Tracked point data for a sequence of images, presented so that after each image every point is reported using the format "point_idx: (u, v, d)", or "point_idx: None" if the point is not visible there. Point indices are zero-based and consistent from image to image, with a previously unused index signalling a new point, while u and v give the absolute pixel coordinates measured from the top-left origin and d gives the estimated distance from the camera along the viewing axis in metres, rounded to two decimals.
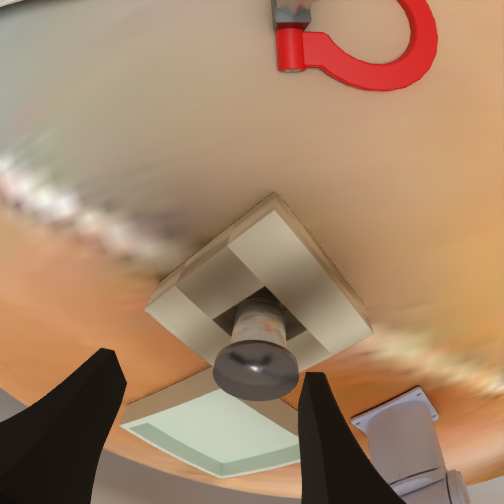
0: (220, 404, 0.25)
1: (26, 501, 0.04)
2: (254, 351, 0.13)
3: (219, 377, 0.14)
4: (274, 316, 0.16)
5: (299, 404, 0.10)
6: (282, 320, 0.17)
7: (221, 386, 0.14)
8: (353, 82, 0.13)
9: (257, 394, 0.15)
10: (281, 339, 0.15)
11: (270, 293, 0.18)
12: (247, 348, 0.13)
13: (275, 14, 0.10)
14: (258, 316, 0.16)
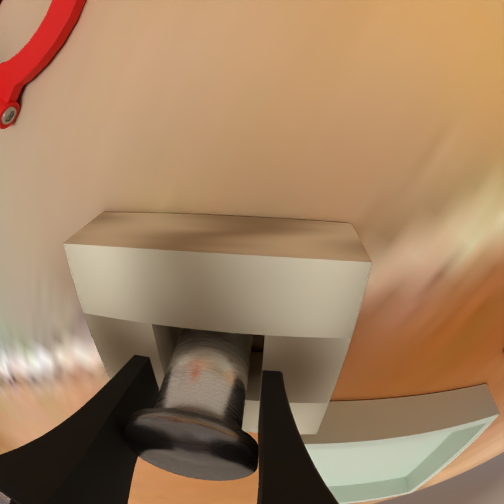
0: None
1: None
2: (134, 431, 0.07)
3: (165, 467, 0.08)
4: (190, 353, 0.10)
5: None
6: (210, 349, 0.10)
7: (184, 475, 0.08)
8: (38, 58, 0.08)
9: (228, 472, 0.08)
10: (196, 385, 0.09)
11: None
12: (125, 430, 0.07)
13: None
14: (170, 367, 0.10)
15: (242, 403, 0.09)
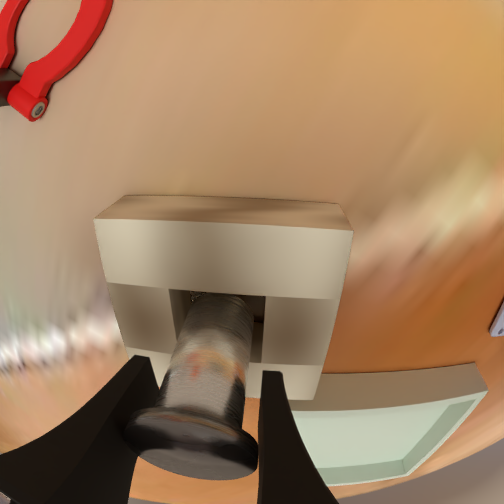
0: (323, 418, 0.19)
1: None
2: (134, 430, 0.07)
3: (165, 467, 0.08)
4: (190, 352, 0.10)
5: None
6: (210, 349, 0.10)
7: (184, 474, 0.08)
8: (68, 60, 0.10)
9: (228, 472, 0.08)
10: (196, 385, 0.09)
11: (195, 317, 0.12)
12: (125, 430, 0.07)
13: None
14: (170, 366, 0.10)
15: (242, 403, 0.09)
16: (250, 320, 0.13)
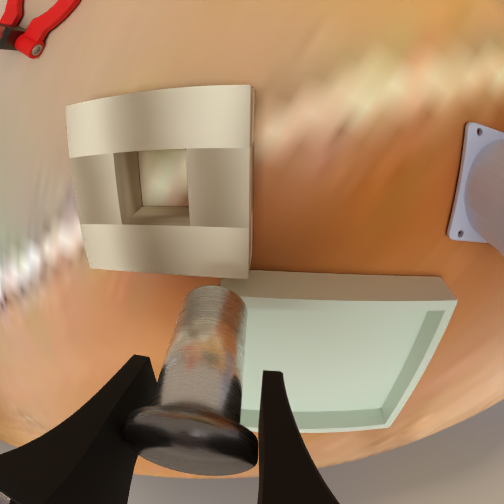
0: (276, 329, 0.21)
1: None
2: (132, 430, 0.07)
3: (166, 465, 0.08)
4: (184, 348, 0.10)
5: None
6: (204, 344, 0.10)
7: (186, 471, 0.09)
8: (61, 12, 0.11)
9: (229, 467, 0.08)
10: (191, 381, 0.09)
11: (188, 312, 0.12)
12: (123, 430, 0.07)
13: None
14: (165, 363, 0.10)
15: (239, 396, 0.09)
16: (244, 312, 0.13)
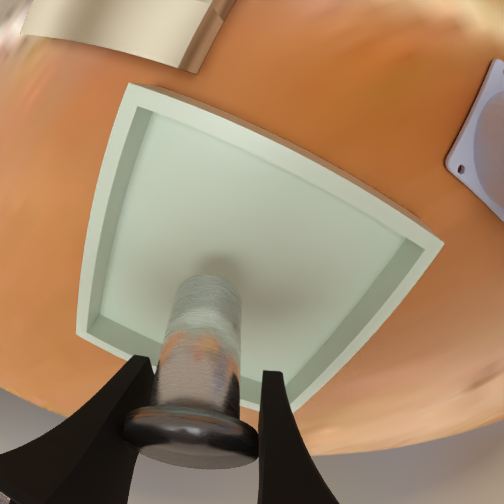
0: (183, 189, 0.14)
1: None
2: (131, 431, 0.07)
3: (169, 461, 0.08)
4: (178, 343, 0.10)
5: None
6: (198, 337, 0.10)
7: (189, 467, 0.09)
8: None
9: (231, 461, 0.08)
10: (187, 377, 0.08)
11: (181, 305, 0.11)
12: None
13: None
14: (160, 359, 0.10)
15: (237, 389, 0.09)
16: (238, 300, 0.13)
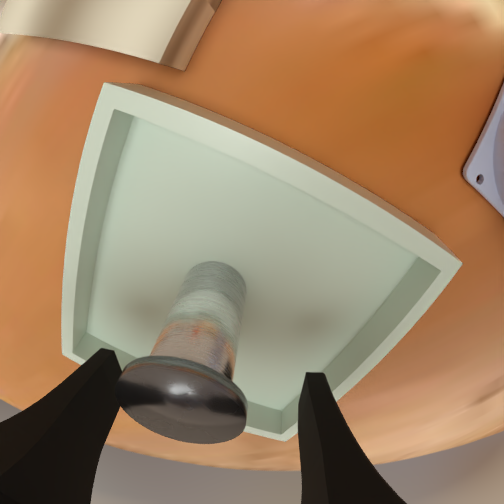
0: (170, 202, 0.13)
1: (26, 501, 0.04)
2: (124, 384, 0.08)
3: (159, 430, 0.09)
4: (180, 312, 0.11)
5: (299, 404, 0.10)
6: (199, 308, 0.11)
7: (178, 439, 0.09)
8: None
9: (219, 431, 0.09)
10: (184, 339, 0.09)
11: (188, 284, 0.12)
12: (116, 384, 0.08)
13: None
14: (162, 328, 0.11)
15: (231, 359, 0.10)
16: (242, 286, 0.13)
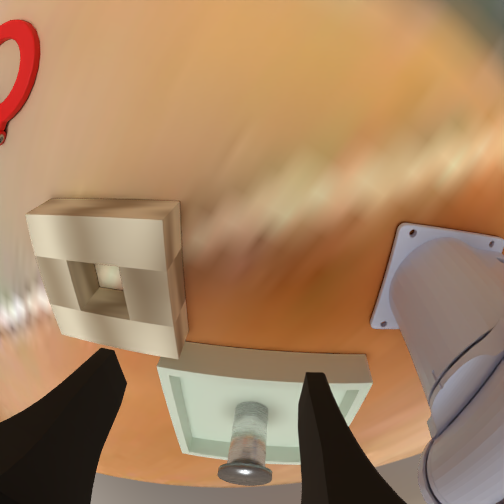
0: (213, 386, 0.24)
1: (26, 501, 0.04)
2: (220, 473, 0.19)
3: (240, 483, 0.19)
4: (235, 437, 0.21)
5: (299, 404, 0.10)
6: (243, 434, 0.21)
7: (250, 485, 0.19)
8: (14, 107, 0.14)
9: (263, 480, 0.19)
10: (239, 451, 0.20)
11: (236, 418, 0.23)
12: None
13: None
14: (230, 444, 0.21)
15: (261, 452, 0.20)
16: (263, 410, 0.24)
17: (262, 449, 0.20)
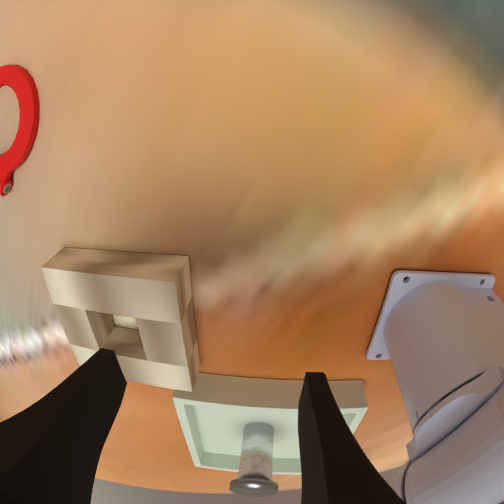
0: (223, 410, 0.25)
1: (26, 501, 0.04)
2: (232, 487, 0.20)
3: (250, 495, 0.21)
4: (245, 455, 0.23)
5: (299, 404, 0.10)
6: (251, 452, 0.23)
7: (258, 496, 0.21)
8: (18, 159, 0.16)
9: (270, 492, 0.20)
10: (248, 467, 0.21)
11: (245, 438, 0.24)
12: (229, 488, 0.20)
13: None
14: (240, 460, 0.23)
15: (268, 467, 0.21)
16: (269, 429, 0.25)
17: (269, 465, 0.22)
